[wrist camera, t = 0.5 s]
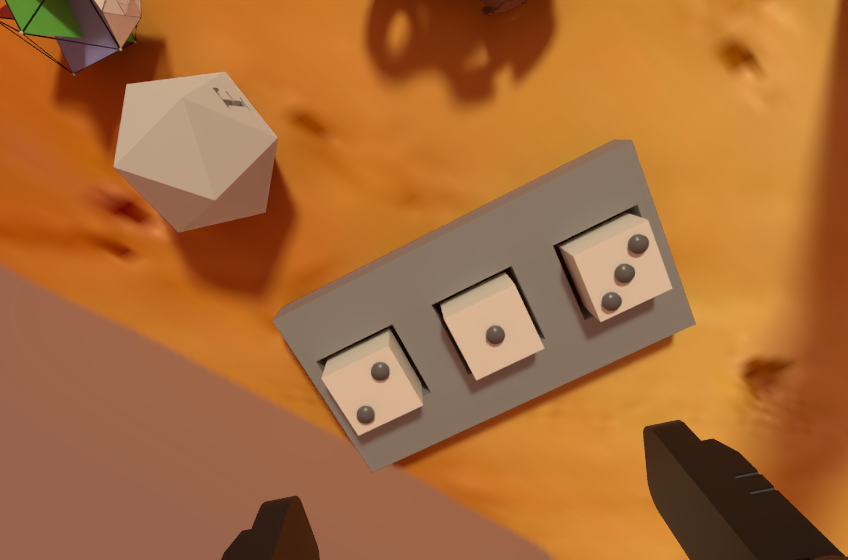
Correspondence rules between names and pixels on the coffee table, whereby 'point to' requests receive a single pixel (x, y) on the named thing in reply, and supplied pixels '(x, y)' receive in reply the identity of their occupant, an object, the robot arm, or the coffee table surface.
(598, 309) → the three pip tile
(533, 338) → the one pip tile
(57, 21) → the geometric puzzle
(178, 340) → the coffee table surface
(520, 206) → the button board
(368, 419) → the two pip tile
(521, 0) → the pottery mug
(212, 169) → the die
